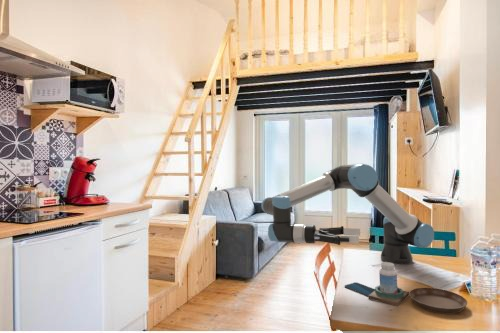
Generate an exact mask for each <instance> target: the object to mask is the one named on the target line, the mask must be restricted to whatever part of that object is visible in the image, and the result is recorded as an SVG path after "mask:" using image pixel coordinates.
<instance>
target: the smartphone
mask: <svg viewBox="0 0 500 333" xmlns="http://www.w3.org/2000/svg"><path fill="white" fill-rule="evenodd" d="M344 288H345V289H348V290H350V291H352V292H355V293H358V294H360V295H362V296H365V297H367V298H368V295H370V294H371V293H372V292H374V291H375V288H372V287H370V286H367V285H364V284H362V283H359V282H351V283H348V284H345V285H344Z"/></svg>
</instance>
